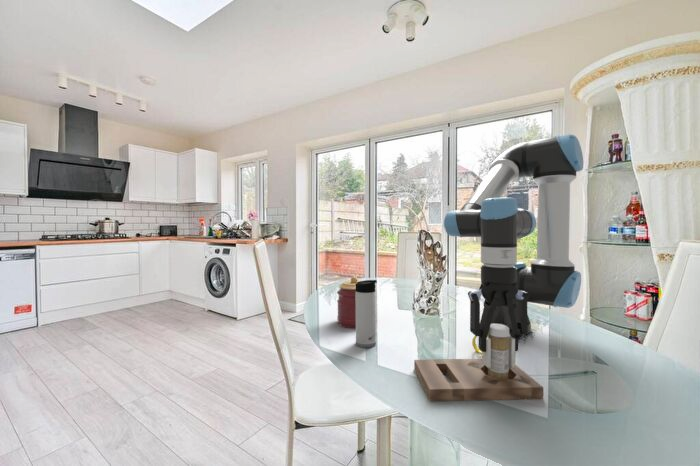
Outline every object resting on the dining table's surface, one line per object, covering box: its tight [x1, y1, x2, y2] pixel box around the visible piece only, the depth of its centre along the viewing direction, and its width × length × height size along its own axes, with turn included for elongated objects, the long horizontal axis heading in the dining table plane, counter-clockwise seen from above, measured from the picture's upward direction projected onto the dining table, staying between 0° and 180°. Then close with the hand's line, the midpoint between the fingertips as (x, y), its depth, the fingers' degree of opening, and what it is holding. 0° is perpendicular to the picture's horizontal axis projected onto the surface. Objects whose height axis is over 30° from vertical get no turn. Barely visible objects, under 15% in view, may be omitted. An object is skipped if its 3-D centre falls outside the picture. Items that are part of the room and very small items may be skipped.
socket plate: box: [413, 358, 544, 402], centre depth 71 cm, size 24×14×2 cm, turn 91°
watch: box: [471, 335, 488, 355], centre depth 87 cm, size 6×3×6 cm, turn 45°
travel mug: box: [355, 279, 378, 349], centre depth 94 cm, size 6×7×20 cm
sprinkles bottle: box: [487, 324, 510, 379], centre depth 71 cm, size 5×5×13 cm
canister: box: [336, 276, 361, 329], centre depth 115 cm, size 13×13×18 cm
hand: (498, 364), depth 71 cm, fingers open, 5 cm apart
